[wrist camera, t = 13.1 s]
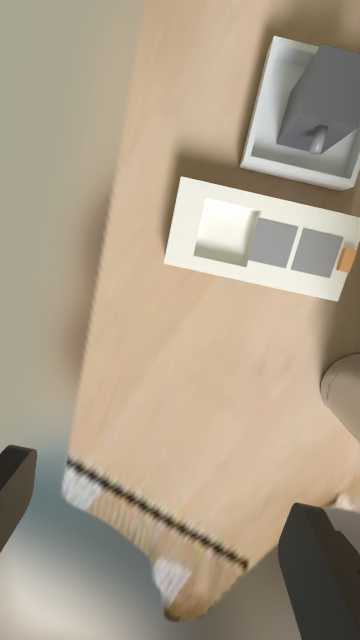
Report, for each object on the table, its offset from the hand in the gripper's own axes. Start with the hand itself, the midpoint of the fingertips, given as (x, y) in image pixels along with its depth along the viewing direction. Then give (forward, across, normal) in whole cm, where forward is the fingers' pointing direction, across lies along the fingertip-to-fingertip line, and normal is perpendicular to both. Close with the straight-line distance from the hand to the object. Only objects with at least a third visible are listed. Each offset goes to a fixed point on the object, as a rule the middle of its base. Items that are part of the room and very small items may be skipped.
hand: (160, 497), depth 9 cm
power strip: (+28, -7, -10) cm, 31 cm away
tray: (+28, -9, -23) cm, 37 cm away
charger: (+28, -9, -23) cm, 37 cm away
